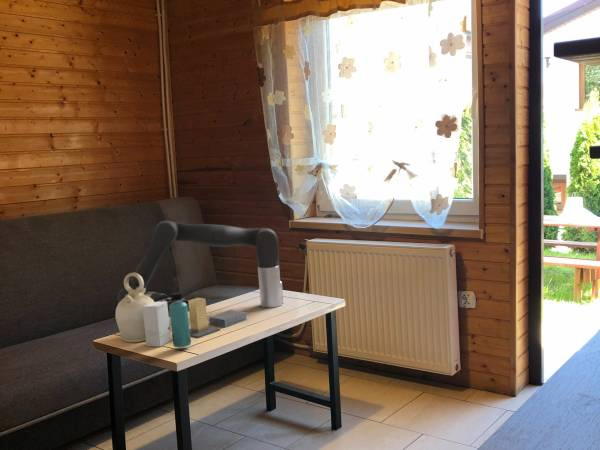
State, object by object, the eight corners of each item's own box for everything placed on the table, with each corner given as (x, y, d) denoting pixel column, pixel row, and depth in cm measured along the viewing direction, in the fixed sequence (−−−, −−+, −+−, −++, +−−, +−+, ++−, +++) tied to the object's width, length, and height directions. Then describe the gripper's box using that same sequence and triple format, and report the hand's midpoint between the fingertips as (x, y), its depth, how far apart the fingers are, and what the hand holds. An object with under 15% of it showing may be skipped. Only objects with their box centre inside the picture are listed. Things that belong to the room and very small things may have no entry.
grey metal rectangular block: (230, 317, 264) (230, 309, 264) (246, 319, 258) (246, 312, 258) (209, 324, 255) (208, 317, 255) (225, 327, 249) (224, 319, 249)
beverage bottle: (195, 347, 226) (190, 291, 224) (180, 352, 221) (174, 295, 219) (184, 344, 231) (179, 289, 228) (169, 349, 226) (163, 293, 223)
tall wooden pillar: (200, 328, 248) (198, 297, 247) (208, 329, 246) (205, 298, 245) (191, 331, 245) (188, 300, 243) (198, 332, 242) (195, 301, 241)
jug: (138, 330, 254) (132, 267, 251) (168, 333, 246) (162, 269, 243) (109, 341, 241) (102, 276, 238) (139, 345, 233) (132, 277, 230)
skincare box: (160, 347, 229) (156, 306, 228) (145, 346, 231) (141, 306, 229) (171, 340, 237) (168, 300, 235) (157, 339, 239) (153, 300, 237)
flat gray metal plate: (200, 326, 253) (200, 325, 253) (220, 330, 246) (220, 328, 246) (179, 334, 245) (178, 332, 245) (198, 337, 238) (198, 336, 238)
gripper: (139, 296, 254) (166, 300, 244) (168, 288, 265) (194, 292, 255) (141, 315, 255) (168, 320, 245) (169, 306, 266) (196, 311, 256)
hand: (181, 306), depth 250 cm, fingers open, 8 cm apart
